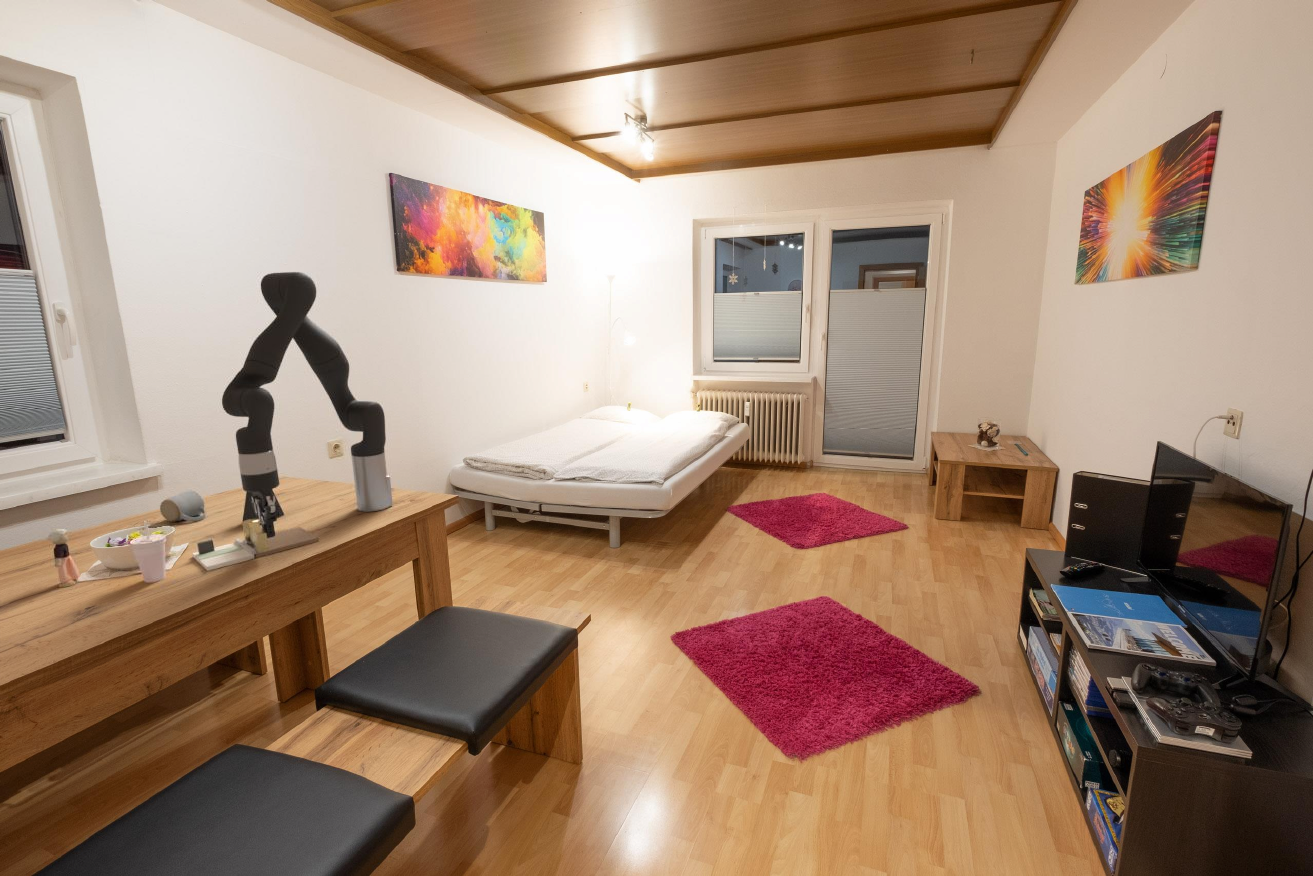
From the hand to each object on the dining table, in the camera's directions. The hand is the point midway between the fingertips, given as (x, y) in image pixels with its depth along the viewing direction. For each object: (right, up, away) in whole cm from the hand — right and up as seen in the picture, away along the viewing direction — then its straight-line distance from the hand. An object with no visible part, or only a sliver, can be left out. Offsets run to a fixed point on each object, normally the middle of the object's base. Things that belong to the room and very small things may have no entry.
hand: (269, 536), depth 149 cm
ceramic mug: (-43, 0, +29) cm, 52 cm away
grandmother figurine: (-37, -8, -13) cm, 40 cm away
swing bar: (-4, -2, +2) cm, 5 cm away
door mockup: (-7, -4, +6) cm, 9 cm away
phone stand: (-20, 0, +28) cm, 34 cm away
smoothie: (-19, -8, -12) cm, 23 cm away
